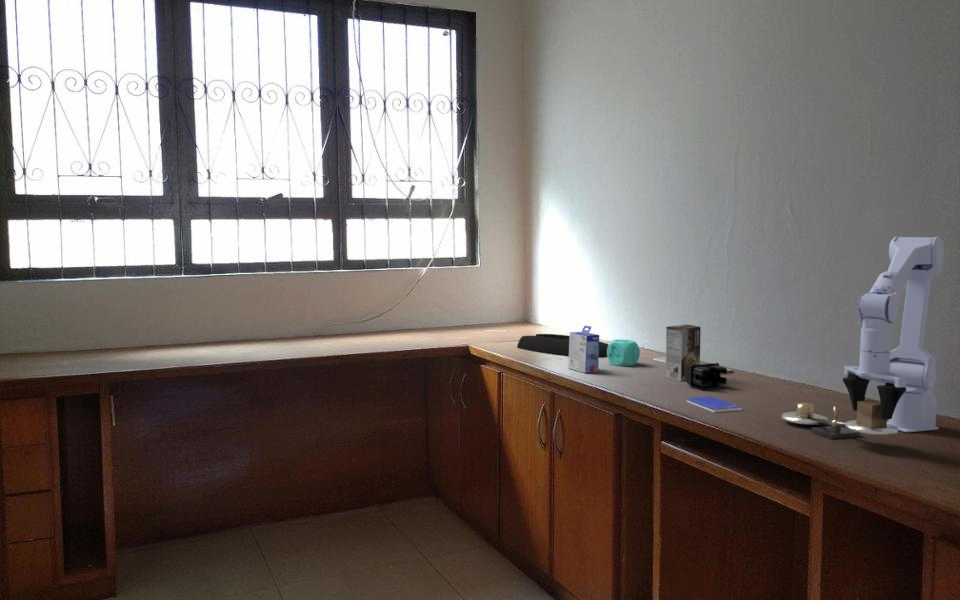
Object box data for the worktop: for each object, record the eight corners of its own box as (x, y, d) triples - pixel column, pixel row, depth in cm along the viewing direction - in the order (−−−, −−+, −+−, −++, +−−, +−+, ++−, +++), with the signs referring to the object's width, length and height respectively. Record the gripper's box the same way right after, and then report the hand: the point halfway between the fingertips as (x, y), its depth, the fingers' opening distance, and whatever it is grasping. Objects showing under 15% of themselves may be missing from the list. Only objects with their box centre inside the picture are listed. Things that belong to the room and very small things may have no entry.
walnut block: (871, 422, 163) (872, 400, 163) (886, 427, 159) (887, 404, 159) (856, 424, 162) (857, 401, 161) (871, 429, 158) (872, 405, 158)
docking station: (588, 362, 266) (588, 347, 265) (506, 348, 295) (506, 335, 295) (631, 354, 283) (631, 341, 282) (549, 342, 312) (549, 330, 312)
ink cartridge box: (599, 372, 244) (600, 327, 242) (585, 373, 241) (586, 328, 240) (581, 367, 252) (582, 324, 251) (567, 368, 250) (568, 325, 248)
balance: (806, 417, 186) (808, 391, 185) (908, 450, 158) (910, 420, 157) (772, 419, 183) (773, 393, 182) (869, 454, 155) (871, 424, 154)
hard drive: (742, 406, 193) (713, 396, 205) (714, 408, 190) (686, 398, 202) (741, 412, 193) (713, 401, 205) (714, 414, 191) (686, 403, 202)
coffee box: (683, 374, 240) (684, 324, 239) (700, 378, 235) (701, 326, 234) (664, 378, 235) (665, 326, 233) (681, 381, 230) (682, 328, 228)
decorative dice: (624, 367, 253) (625, 343, 252) (606, 364, 259) (606, 340, 259) (639, 364, 258) (640, 341, 257) (621, 361, 264) (622, 338, 264)
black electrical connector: (711, 383, 226) (712, 361, 226) (727, 388, 220) (728, 365, 219) (684, 386, 223) (684, 363, 222) (699, 391, 216) (700, 367, 216)
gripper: (833, 346, 165) (831, 408, 166) (888, 357, 151) (884, 424, 152) (860, 345, 167) (857, 406, 168) (915, 355, 153) (912, 421, 154)
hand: (871, 414), depth 160 cm, fingers open, 7 cm apart
